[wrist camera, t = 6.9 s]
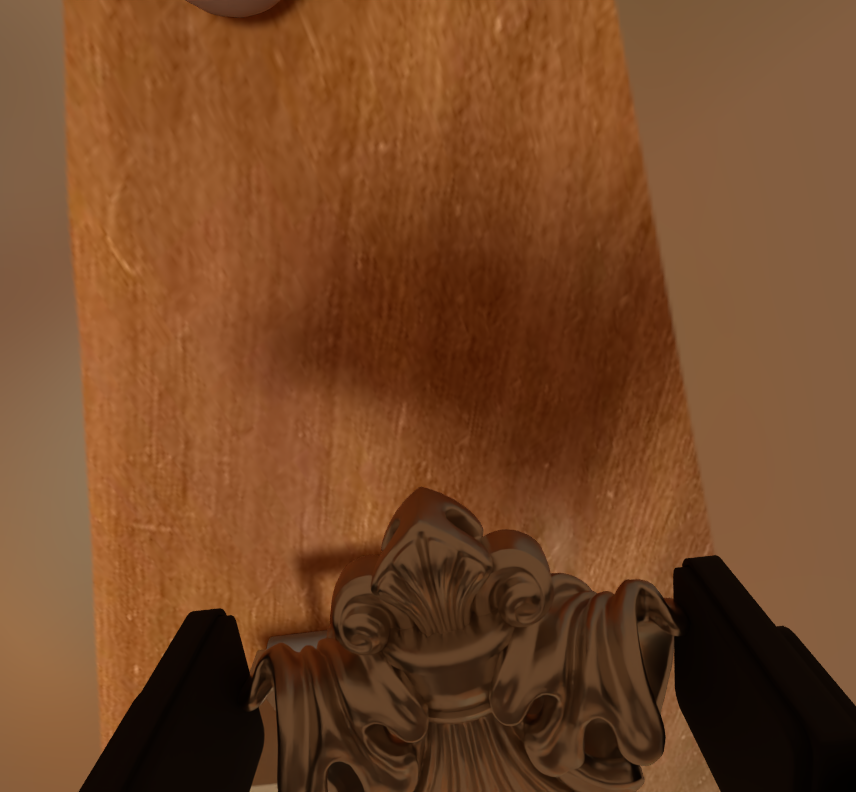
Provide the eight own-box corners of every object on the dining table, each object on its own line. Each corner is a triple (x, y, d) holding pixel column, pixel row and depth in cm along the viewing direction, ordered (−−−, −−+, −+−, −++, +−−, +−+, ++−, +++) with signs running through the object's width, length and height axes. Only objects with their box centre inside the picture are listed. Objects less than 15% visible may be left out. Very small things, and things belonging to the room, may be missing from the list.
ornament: (638, 414, 11) (735, 512, 7) (677, 716, 13) (767, 903, 9) (214, 501, 12) (119, 628, 8) (312, 776, 13) (270, 975, 10)
